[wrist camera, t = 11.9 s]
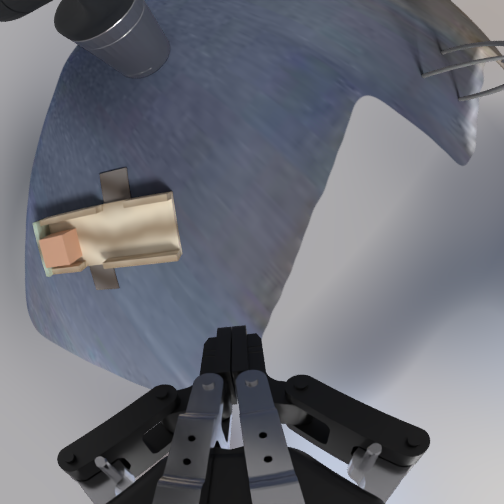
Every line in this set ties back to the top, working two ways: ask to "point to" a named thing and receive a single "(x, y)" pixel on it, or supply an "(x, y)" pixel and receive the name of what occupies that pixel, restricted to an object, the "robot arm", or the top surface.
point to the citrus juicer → (479, 44)
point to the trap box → (117, 231)
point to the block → (60, 248)
